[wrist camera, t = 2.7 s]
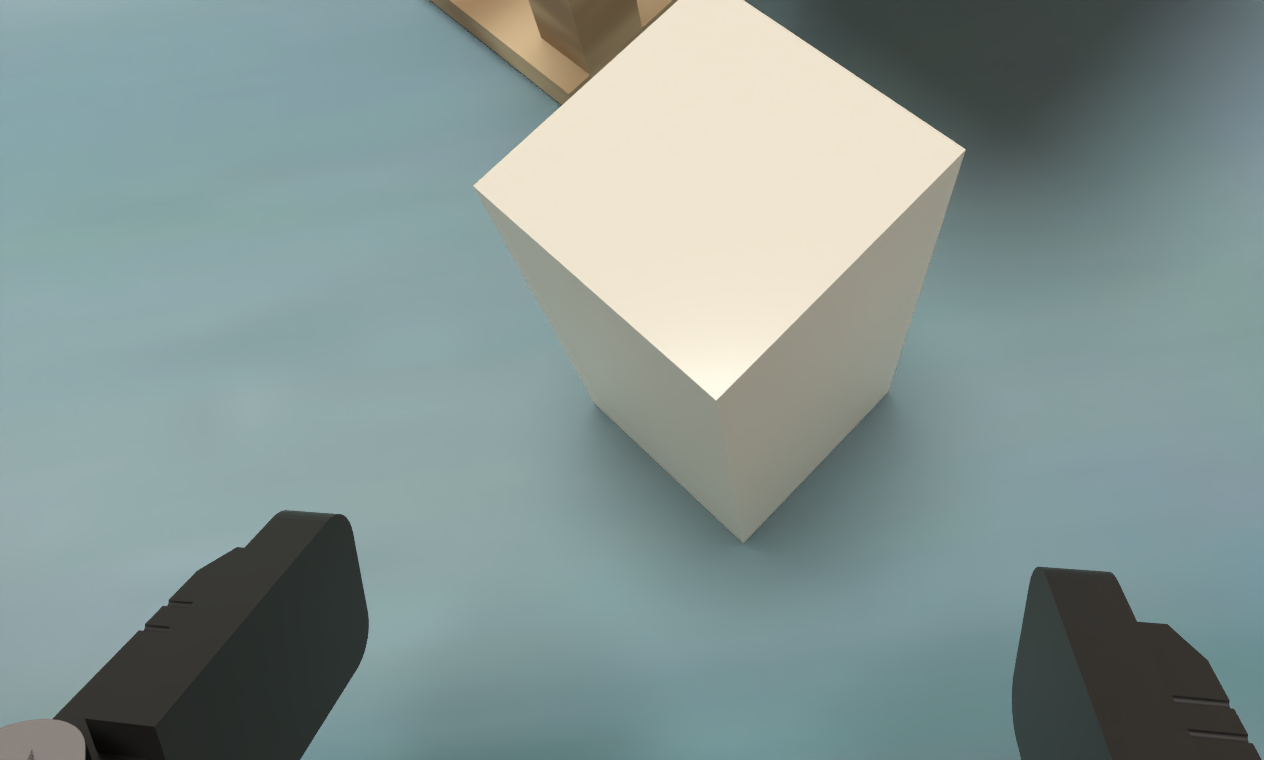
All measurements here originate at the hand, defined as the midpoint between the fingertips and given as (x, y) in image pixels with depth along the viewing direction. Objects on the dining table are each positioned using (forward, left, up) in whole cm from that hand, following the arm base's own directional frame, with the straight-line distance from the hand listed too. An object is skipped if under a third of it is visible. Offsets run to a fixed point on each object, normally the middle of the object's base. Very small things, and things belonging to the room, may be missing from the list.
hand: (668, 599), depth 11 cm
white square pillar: (-4, +5, -10) cm, 12 cm away
